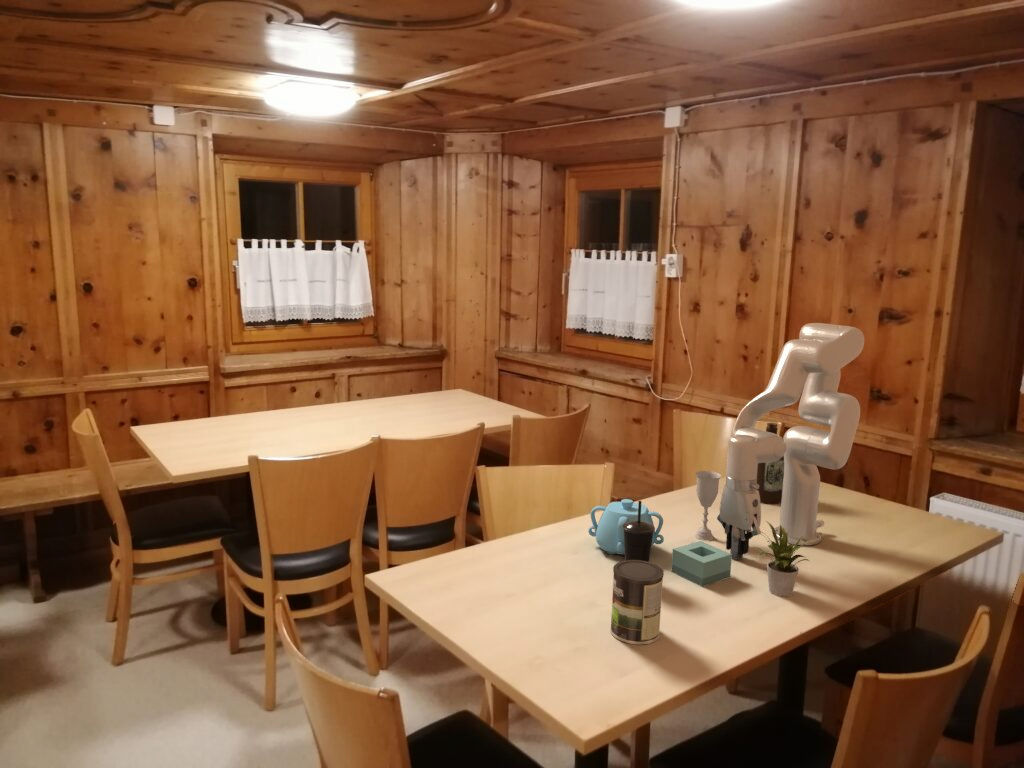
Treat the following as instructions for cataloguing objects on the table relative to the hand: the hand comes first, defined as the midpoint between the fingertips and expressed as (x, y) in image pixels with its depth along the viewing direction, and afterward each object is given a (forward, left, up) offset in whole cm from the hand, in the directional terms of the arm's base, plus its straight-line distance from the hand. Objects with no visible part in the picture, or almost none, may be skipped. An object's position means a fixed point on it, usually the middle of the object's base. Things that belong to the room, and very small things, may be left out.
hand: (736, 550), depth 204 cm
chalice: (-4, -15, -2) cm, 16 cm away
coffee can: (+50, +15, -2) cm, 52 cm away
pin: (0, 0, -2) cm, 2 cm away
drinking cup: (+32, -4, -2) cm, 32 cm away
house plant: (+7, +17, -2) cm, 19 cm away
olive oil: (-46, -27, -2) cm, 54 cm away
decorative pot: (+21, -20, -3) cm, 29 cm away
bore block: (+16, +2, -2) cm, 16 cm away
